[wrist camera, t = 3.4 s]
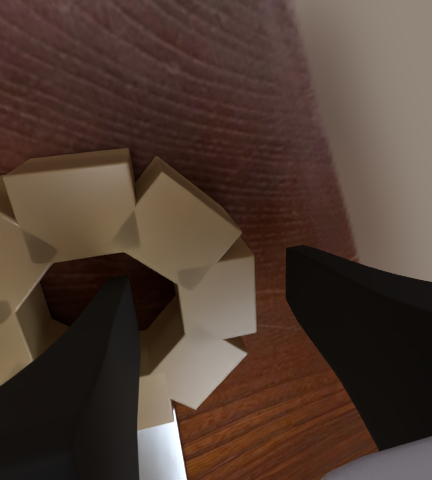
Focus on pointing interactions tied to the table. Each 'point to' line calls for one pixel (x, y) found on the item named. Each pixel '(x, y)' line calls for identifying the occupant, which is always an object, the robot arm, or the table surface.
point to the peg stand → (161, 452)
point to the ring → (139, 247)
